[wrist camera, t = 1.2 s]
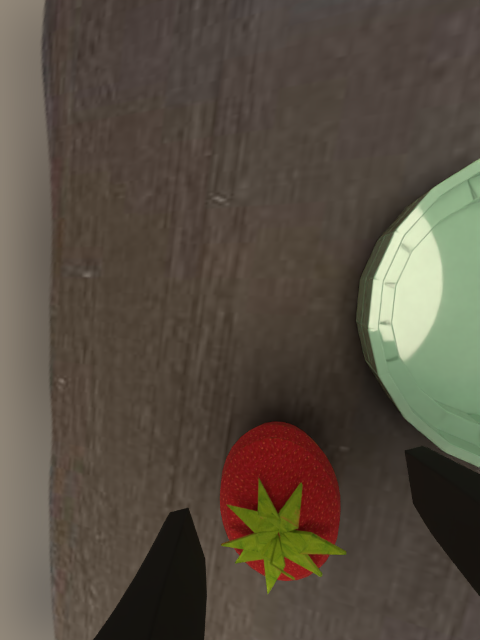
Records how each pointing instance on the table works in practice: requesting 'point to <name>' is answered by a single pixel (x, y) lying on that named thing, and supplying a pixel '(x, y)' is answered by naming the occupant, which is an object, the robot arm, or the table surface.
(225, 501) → the strawberry
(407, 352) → the mint green dish
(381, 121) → the table surface
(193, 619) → the robot arm
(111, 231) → the table surface
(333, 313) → the table surface
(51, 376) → the table surface
